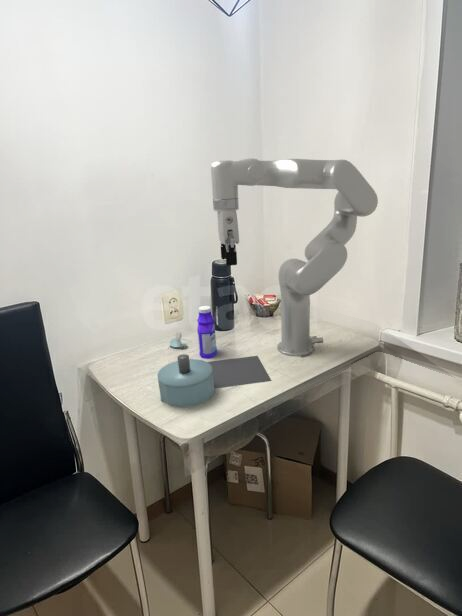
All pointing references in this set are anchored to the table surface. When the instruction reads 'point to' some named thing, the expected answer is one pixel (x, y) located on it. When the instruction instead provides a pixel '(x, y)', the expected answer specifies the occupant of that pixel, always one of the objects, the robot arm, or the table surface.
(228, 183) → the robot arm
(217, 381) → the mat
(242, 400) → the table surface
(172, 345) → the pacifier
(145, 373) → the table surface
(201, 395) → the squat blue cylinder
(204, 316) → the bottle
